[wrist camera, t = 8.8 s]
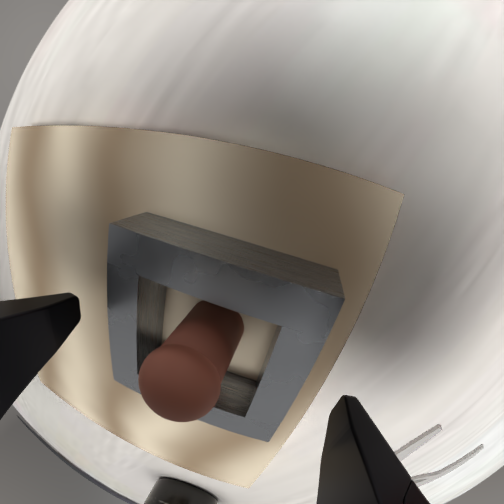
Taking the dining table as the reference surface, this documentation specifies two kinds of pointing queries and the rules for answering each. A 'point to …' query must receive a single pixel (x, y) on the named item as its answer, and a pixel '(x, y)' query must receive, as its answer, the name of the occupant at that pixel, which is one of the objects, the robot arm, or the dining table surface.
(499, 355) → the dining table surface
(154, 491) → the supplement bottle
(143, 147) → the keeper board
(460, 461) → the pliers
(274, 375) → the grey square frame
